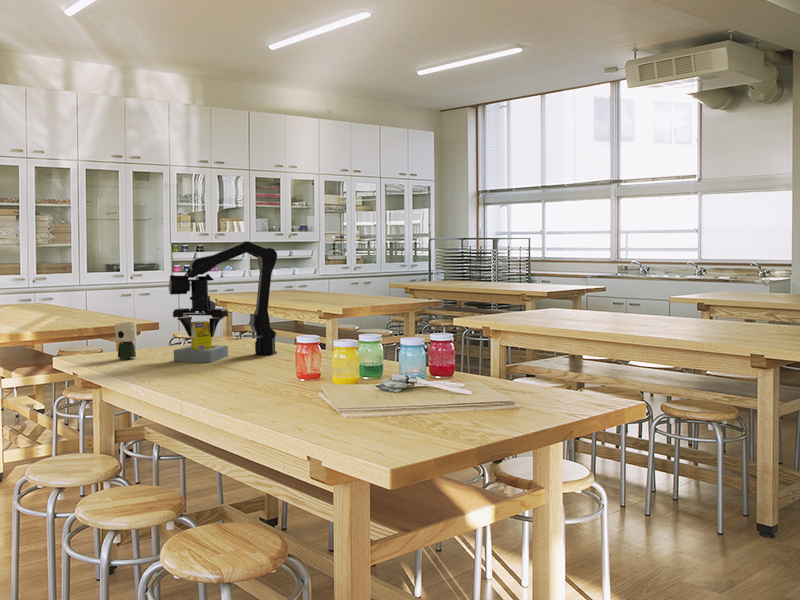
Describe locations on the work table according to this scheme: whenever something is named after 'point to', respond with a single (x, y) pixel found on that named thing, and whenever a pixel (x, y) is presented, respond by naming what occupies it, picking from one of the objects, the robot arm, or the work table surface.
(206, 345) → the supplement box
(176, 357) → the block
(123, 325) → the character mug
